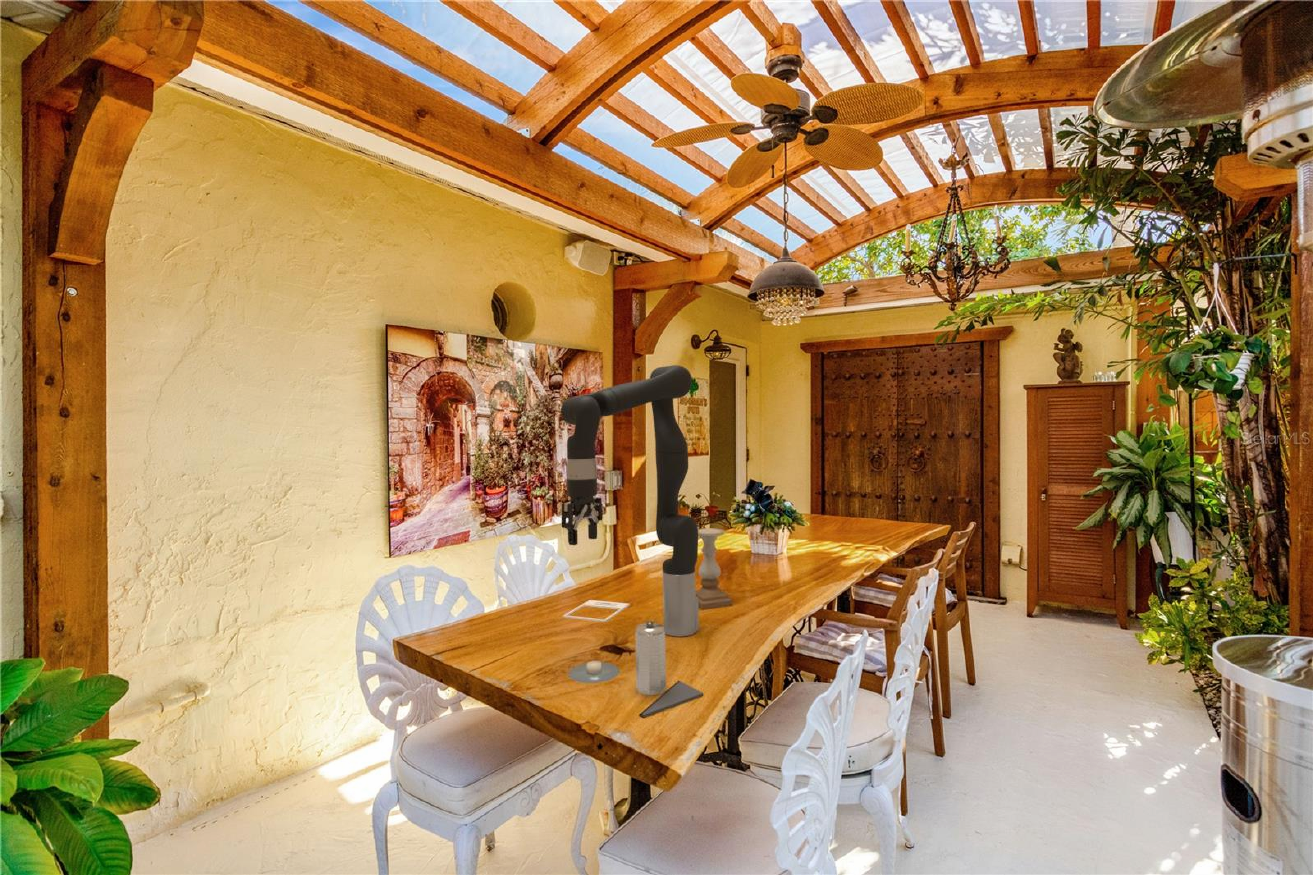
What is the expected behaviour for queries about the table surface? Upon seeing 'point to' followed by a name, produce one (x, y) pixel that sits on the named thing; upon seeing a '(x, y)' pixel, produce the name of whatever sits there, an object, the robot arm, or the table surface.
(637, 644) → the steel canister
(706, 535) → the candle holder
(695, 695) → the rubber mat
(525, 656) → the table surface
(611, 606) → the white rectangular frame
